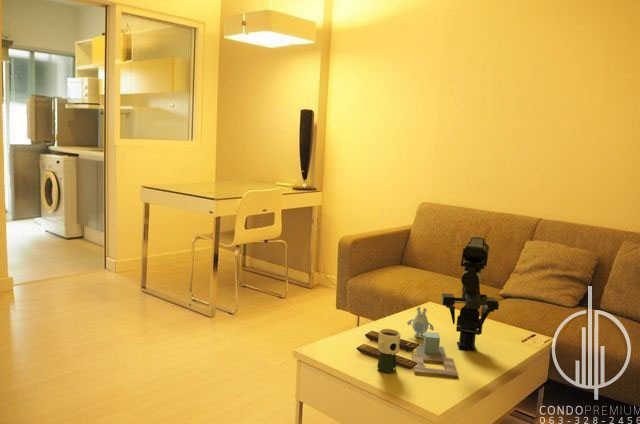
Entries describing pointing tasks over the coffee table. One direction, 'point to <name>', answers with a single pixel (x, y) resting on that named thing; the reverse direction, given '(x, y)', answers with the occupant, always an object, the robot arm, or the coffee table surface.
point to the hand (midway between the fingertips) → (467, 325)
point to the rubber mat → (421, 352)
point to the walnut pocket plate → (448, 372)
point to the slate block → (431, 343)
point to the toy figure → (420, 323)
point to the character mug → (388, 349)
